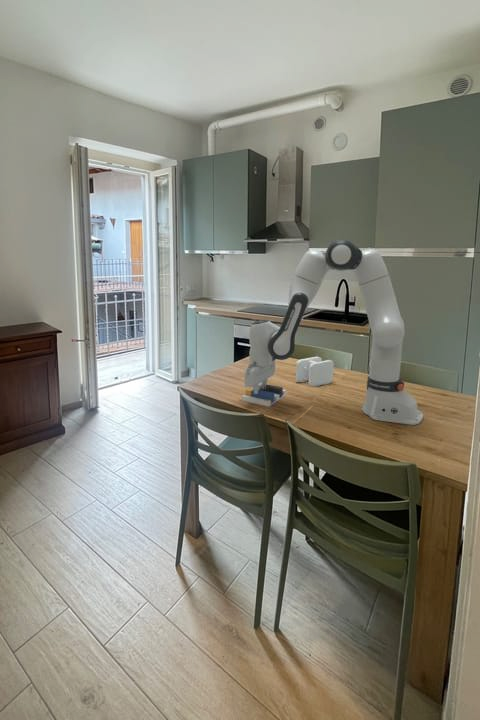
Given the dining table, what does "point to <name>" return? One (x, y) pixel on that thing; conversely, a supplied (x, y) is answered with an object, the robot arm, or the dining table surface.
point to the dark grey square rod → (272, 389)
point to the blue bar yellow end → (260, 394)
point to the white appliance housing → (262, 401)
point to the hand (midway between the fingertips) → (259, 391)
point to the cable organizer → (314, 371)
